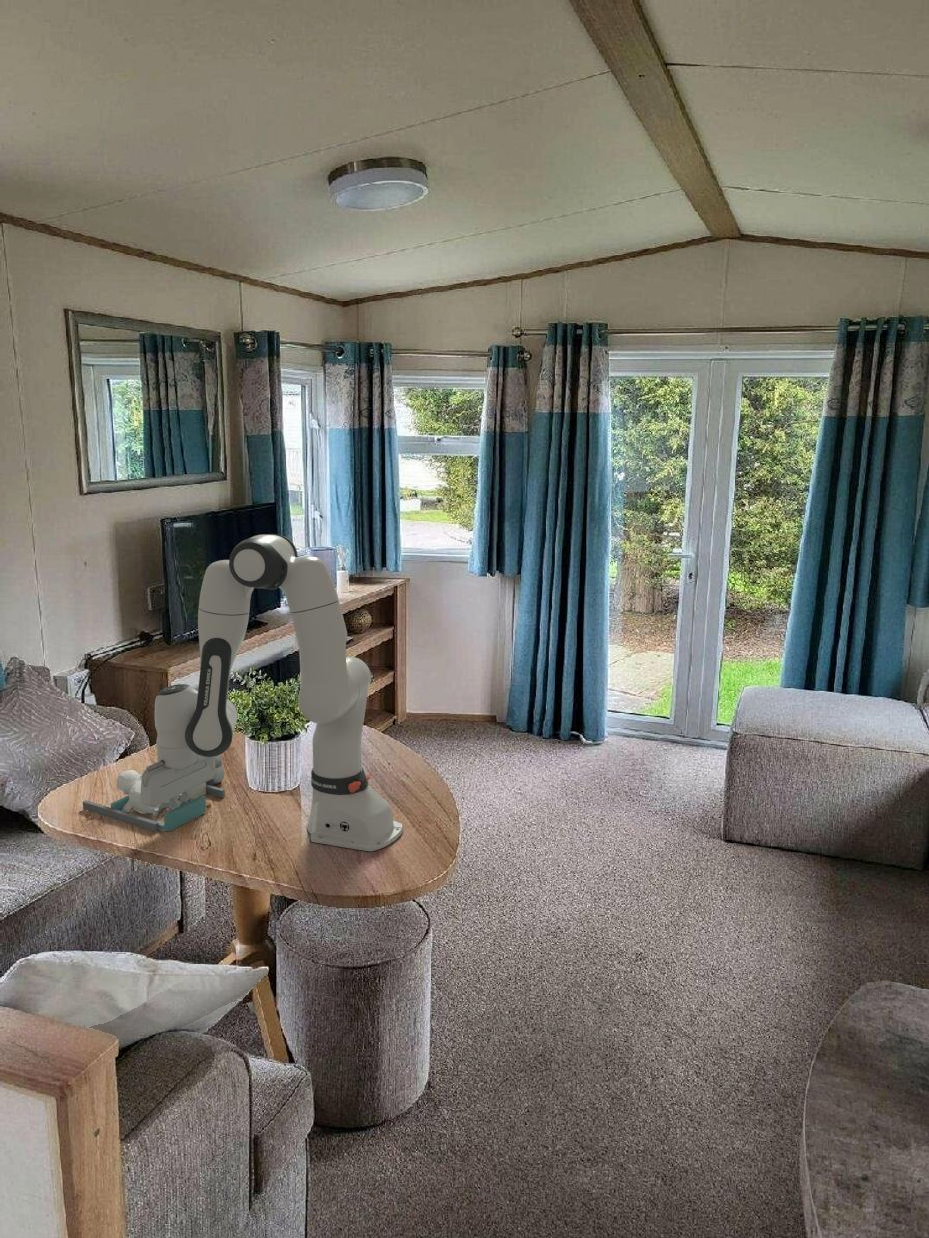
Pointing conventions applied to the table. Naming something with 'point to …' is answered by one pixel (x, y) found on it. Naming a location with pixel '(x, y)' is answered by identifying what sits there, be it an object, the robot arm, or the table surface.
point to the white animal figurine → (137, 794)
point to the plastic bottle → (217, 771)
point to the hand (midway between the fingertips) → (180, 809)
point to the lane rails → (136, 819)
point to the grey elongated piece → (195, 790)
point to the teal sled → (173, 812)
